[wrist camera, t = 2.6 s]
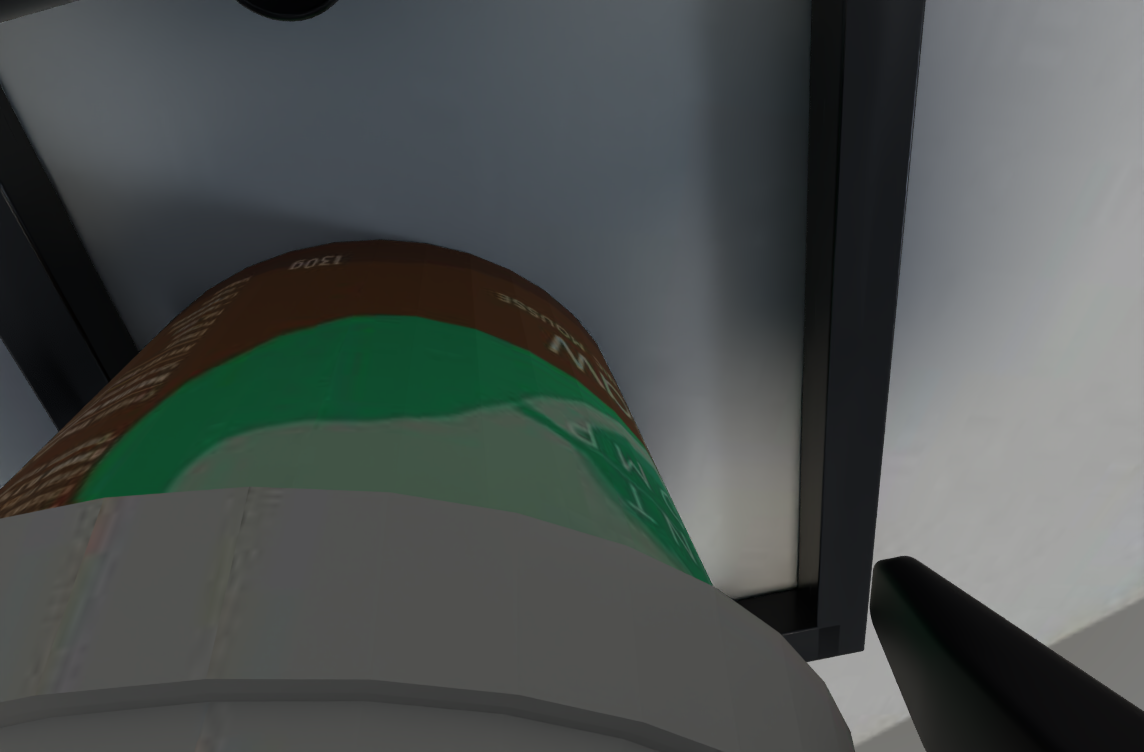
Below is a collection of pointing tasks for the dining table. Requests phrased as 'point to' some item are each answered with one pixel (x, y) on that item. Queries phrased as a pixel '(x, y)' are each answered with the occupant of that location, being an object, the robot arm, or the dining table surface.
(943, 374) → the dining table surface
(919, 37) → the drying rack
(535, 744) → the food container
